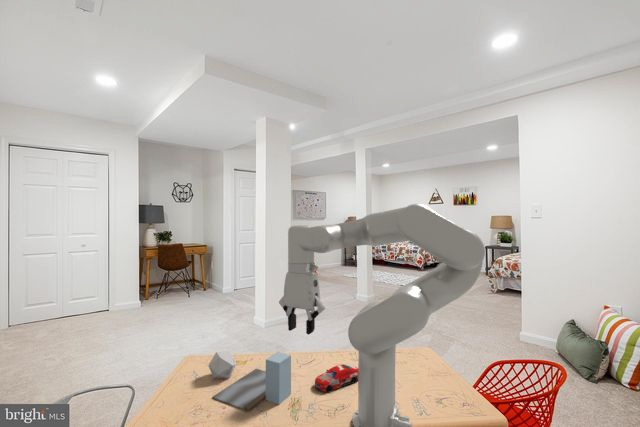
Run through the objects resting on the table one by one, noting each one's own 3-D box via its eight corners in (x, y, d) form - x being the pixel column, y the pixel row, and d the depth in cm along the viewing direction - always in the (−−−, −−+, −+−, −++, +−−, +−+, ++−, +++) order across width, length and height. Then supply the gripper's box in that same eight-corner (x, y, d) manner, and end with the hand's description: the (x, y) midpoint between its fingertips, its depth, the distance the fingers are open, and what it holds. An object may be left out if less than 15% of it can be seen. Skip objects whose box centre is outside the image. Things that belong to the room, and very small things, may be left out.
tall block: (291, 394, 98) (291, 355, 98) (279, 404, 93) (279, 363, 93) (277, 390, 100) (277, 351, 100) (265, 399, 95) (265, 359, 95)
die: (220, 387, 103) (238, 359, 106) (199, 372, 104) (217, 345, 107) (227, 384, 111) (243, 358, 114) (207, 369, 112) (224, 344, 115)
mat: (288, 379, 107) (288, 376, 107) (248, 412, 89) (248, 408, 89) (256, 369, 114) (256, 366, 114) (212, 398, 96) (212, 394, 96)
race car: (321, 396, 98) (321, 380, 98) (310, 386, 103) (310, 370, 103) (363, 381, 106) (363, 366, 106) (351, 372, 112) (351, 358, 112)
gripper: (333, 268, 92) (333, 332, 92) (284, 264, 100) (284, 322, 100) (321, 273, 85) (321, 341, 85) (269, 267, 94) (269, 330, 94)
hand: (301, 330), depth 93 cm, fingers open, 5 cm apart
